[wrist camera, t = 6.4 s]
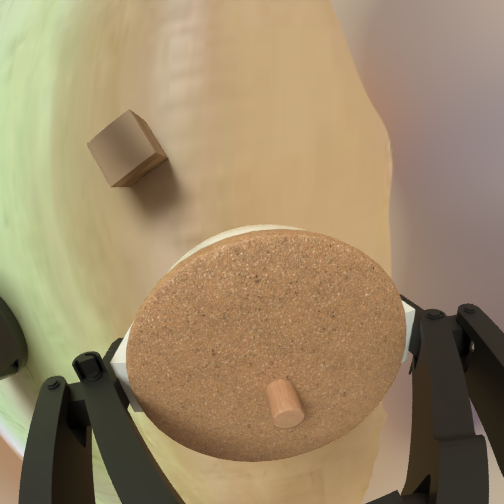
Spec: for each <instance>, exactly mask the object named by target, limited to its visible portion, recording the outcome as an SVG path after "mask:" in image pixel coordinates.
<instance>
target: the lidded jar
mask: <svg viewBox="0 0 504 504" xmlns="http://www.w3.org/2000/svg"><path fill="white" fill-rule="evenodd" d="M406 331H407V327H406V317H405V310H404V307H403V304H402V300H401V297H400V294H399V293H398V291H397V289H396V287H395V285H394V283H393V282H392V280H391V278H390V277H389V276H388V275H387V274H386V272H385V271H384V270H383V269H382V268H381V267H380V266H379V264H377V263H376V262H375V261H374V260H372V259H371V258H370V257H368V256H367V255H366V254H364V253H363V252H362V251H360V250H358V249H356V248H354V247H352V246H350V245H348V244H346V243H343V242H341V241H339V240H337V239H335V238H332V237H329V236H325V235H321V234H317V233H314V232H311V231H308V230H304V229H300V228H296V227H292V226H283V225H270V224H262V225H250V226H243V227H239V228H235V229H231V230H227V231H225V232H222V233H220V234H218V235H215V236H213V237H211V238H209V239H207V240H205V241H204V242H202V243H201V244H199V245H198V246H196V247H195V248H193V249H192V250H190V251H189V252H187V253H186V254H185V255H184V256H183V257H182V258H181V259H180V260H179V261H178V262H176V263H175V264H174V265H173V266H172V268H171V269H170V270H169V272H168V273H167V274H166V275H165V276H164V277H163V278H162V279H161V280H160V281H159V282H158V283H157V284H156V286H155V287H154V288H153V290H152V291H151V292H150V294H149V295H148V297H147V298H146V299H145V301H144V302H143V304H142V305H141V307H140V309H139V311H138V313H137V315H136V318H135V320H134V322H133V324H132V326H131V329H130V333H129V337H128V342H127V347H126V369H127V374H128V379H129V384H130V386H131V389H132V391H133V394H134V396H135V398H136V400H137V402H138V404H139V405H140V407H141V408H142V410H143V411H144V413H145V414H146V415H147V417H148V418H149V419H150V420H151V421H152V422H153V423H154V424H155V426H156V427H157V428H158V429H159V430H161V431H162V432H163V433H165V434H166V435H167V436H169V437H170V438H171V439H173V440H175V441H176V442H178V443H180V444H181V445H183V446H185V447H187V448H189V449H191V450H194V451H197V452H199V453H202V454H205V455H208V456H212V457H215V458H219V459H226V460H233V461H246V462H259V461H272V460H278V459H284V458H289V457H293V456H297V455H300V454H303V453H306V452H309V451H312V450H314V449H317V448H320V447H322V446H324V445H326V444H328V443H330V442H332V441H334V440H335V439H337V438H339V437H340V436H342V435H344V434H345V433H347V432H348V431H350V430H351V429H352V428H354V427H355V426H356V425H357V424H359V423H360V422H361V421H362V420H363V419H364V418H365V417H366V416H367V415H368V414H369V413H370V412H371V411H372V410H373V409H374V408H375V407H376V406H377V405H378V404H379V402H380V401H381V400H382V398H383V397H384V396H385V394H386V393H387V391H388V390H389V388H390V386H391V385H392V383H393V381H394V380H395V378H396V375H397V373H398V370H399V368H400V365H401V362H402V359H403V355H404V351H405V347H406Z"/></svg>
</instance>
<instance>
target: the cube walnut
mask: <svg viewBox="0 0 504 504" xmlns="http://www.w3.org/2000/svg"><path fill="white" fill-rule="evenodd" d="M87 146H88V148H89V149H90V151H91V153H92V155H93V157H94V159H95V160H96V162H97V164H98V166H99V168H100V169H101V171H102V173H103V175H104V176H105V178H106V180H107V181H108V183H109V185H110V186H111V187H130V186H131V185H132V184H134V183H135V182H136V181H138V180H139V179H140V178H141V177H143V176H144V175H145V174H147V173H148V172H150V171H151V170H152V169H154V168H155V167H156V166H158V165H159V164H161V163H162V162H163V161H165V160H166V159H168V157H167V155H166V154H165V152H164V150H163V149H162V147H161V146H160V144H159V143H158V141H157V139H156V138H155V136H154V135H153V133H152V131H151V130H150V128H149V127H148V125H147V123H146V122H145V121H144V120H143V119H142V118H140V117H139V116H138V115H136V114H135V113H134V112H132V111H131V110H130V109H129V110H127V111H126V112H125V113H124V114H122V115H121V116H120V117H118V118H117V119H116V120H115V121H113V122H112V123H111V124H110V125H108V126H107V127H106V128H105V129H104V130H102V131H101V132H100V133H99V134H98V135H96V136H95V137H94V138H93V139H92V140H91V141H90V142H89V143H87Z"/></svg>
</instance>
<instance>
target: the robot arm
mask: <svg viewBox="0 0 504 504" xmlns="http://www.w3.org/2000/svg"><path fill="white" fill-rule="evenodd" d="M400 297H401V300H402V304H403V307H404V310H405V317H406V327H407V331H406V347H405V351H404V355H403V359H402V362H401V363H403V362H405V361H406V360H407V356H408V351H410V352H411V353H412V354H413V359H412V363H411V367H410V371H409V374H411V372H412V385H413V386H412V389H413V402H412V432H411V444H410V455H409V464H408V471H407V478H406V483H405V485H404V488H403V491H402V493H401V496H400V494H399V492H398V490H396V491H394V492H392V493H390V494H387V495H385V496H383V497H381V498H378V499H376V500H373V501H371V502H368V503H366V504H488V503H489V475H488V459H487V458H488V457H487V447H486V441H485V437H484V436H483V435H476V434H475V431H474V424H473V418H472V410H471V405H470V399H471V402H472V404H473V406H474V408H475V410H476V412H477V414H478V416H479V418H480V421H481V423H482V425H483V427H484V430H485V432H486V434H487V436H488V439H489V442H490V444H491V447H492V449H493V452H494V454H495V457H496V460H497V463H498V466H499V468H500V470H501V473H502V475H503V477H504V333H503V332H502V331H501V330H500V329H499V327H498V326H497V325H495V323H494V322H493V321H492V320H491V319H490V318H489V317H488V316H487V315H486V314H485V313H484V312H483V311H482V310H481V309H480V308H479V307H477V306H475V305H473V304H469V303H468V304H462V305H460V306H459V307H458V311H457V315H453V316H446V314H445V313H444V312H442V311H440V310H437V309H427V310H423V309H422V308H420V307H419V306H417V305H416V304H414V303H413V302H411V301H410V300H408V299H407V298H405V297H404V296H402V295H400ZM133 322H134V321H133ZM132 324H133V323H132ZM131 326H132V325H131ZM131 326H130V328H129V330H128V332H127V333H126V335H125V337H124V338H118V339H117V340H116V341H114V342H113V343H112V344H111V346H110V348H109V349H108V351H107V353H106V355H105V356H104V358H103V359H102V358H101V356H100V354H99V353H97V352H85V353H83V354H81V355H79V356H77V357H76V358H75V359H74V361H73V363H72V366H73V368H74V370H75V372H76V373H77V375H78V377H79V379H80V381H81V382H78V383H72V384H68V383H67V382H66V380H65V378H64V377H62V376H54V377H50V378H48V379H47V380H46V381H45V382H44V383H43V385H42V386H41V390H40V393H39V396H38V399H37V403H36V406H35V410H34V413H33V417H32V421H31V425H30V429H29V434H28V438H27V443H26V448H25V453H24V459H23V465H22V472H21V480H20V490H19V504H96V503H95V495H94V484H93V470H92V429H93V432H94V435H95V438H96V442H97V445H98V447H99V450H100V453H101V456H102V459H103V461H104V464H105V466H106V469H107V471H108V474H109V476H110V479H111V481H112V483H113V486H114V488H115V490H116V492H117V494H118V496H119V498H120V500H121V502H122V504H185V502H184V501H183V500H182V498H181V497H180V496H179V494H178V493H177V492H176V490H175V489H174V487H173V486H172V484H171V483H170V482H169V480H168V479H167V477H166V476H165V474H164V473H163V471H162V470H161V468H160V467H159V465H158V463H157V462H156V460H155V459H154V457H153V455H152V454H151V452H150V450H149V449H148V447H147V445H146V443H145V442H144V440H143V438H142V436H141V434H140V433H139V431H138V429H137V427H136V425H135V423H134V421H133V419H132V417H131V415H130V413H129V412H128V410H127V409H128V406H129V403H130V405H131V406H132V408H133V410H134V412H144V411H143V410H142V408H141V407H140V405H139V404H138V402H137V400H136V398H135V396H134V394H133V391H132V389H131V386H130V384H129V379H128V374H127V369H126V347H127V342H128V337H129V333H130V329H131ZM473 343H474V350H473V349H472V345H473ZM26 362H27V347H26V343H25V339H24V336H23V333H22V331H21V329H20V326H19V324H18V322H17V320H16V319H15V317H14V315H13V313H12V312H11V310H10V309H9V307H8V306H7V305H6V303H5V302H4V301H3V300H2V298H1V297H0V380H2V379H4V378H7V377H9V376H12V375H14V374H16V373H18V372H19V371H20V370H21V369H22V368H23V367H24V365H25V364H26ZM469 398H470V399H469Z"/></svg>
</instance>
